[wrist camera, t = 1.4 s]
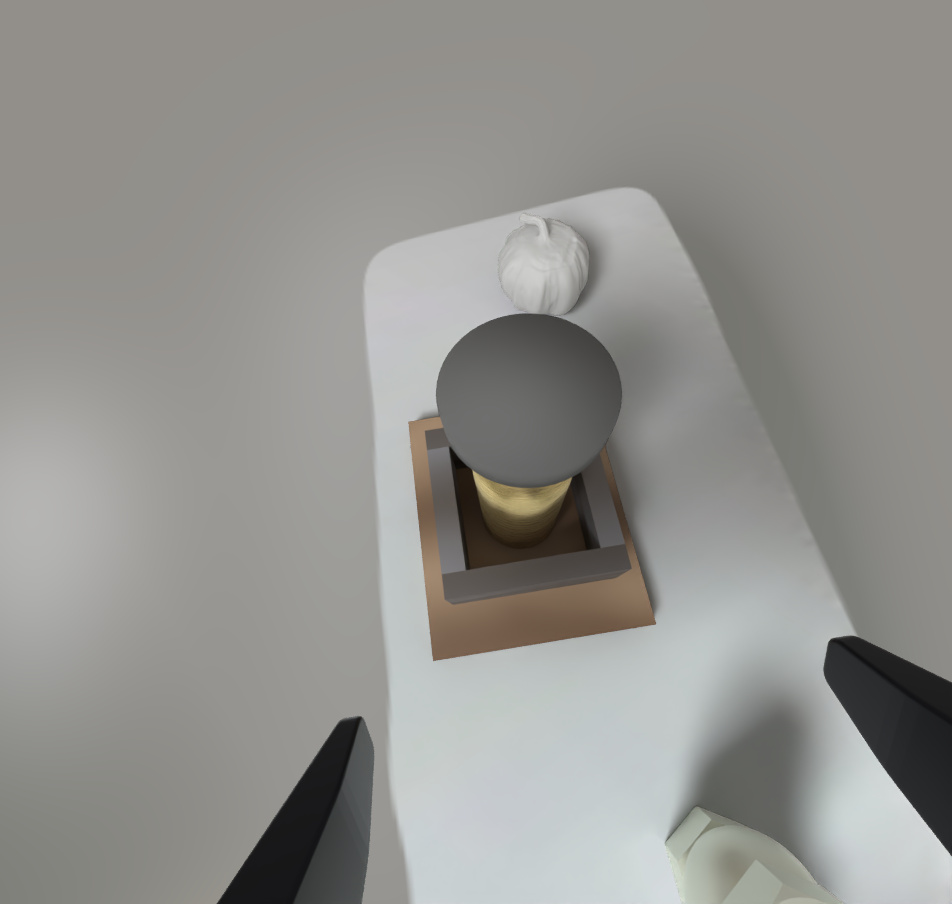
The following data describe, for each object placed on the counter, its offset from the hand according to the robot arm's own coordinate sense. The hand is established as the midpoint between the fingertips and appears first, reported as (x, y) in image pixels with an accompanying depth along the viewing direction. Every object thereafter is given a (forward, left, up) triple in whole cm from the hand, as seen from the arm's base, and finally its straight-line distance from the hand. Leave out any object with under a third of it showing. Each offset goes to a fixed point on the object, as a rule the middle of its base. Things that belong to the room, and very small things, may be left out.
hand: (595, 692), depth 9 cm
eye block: (+7, 0, -13) cm, 15 cm away
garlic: (+21, -4, -13) cm, 25 cm away
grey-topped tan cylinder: (+7, 0, -12) cm, 14 cm away
